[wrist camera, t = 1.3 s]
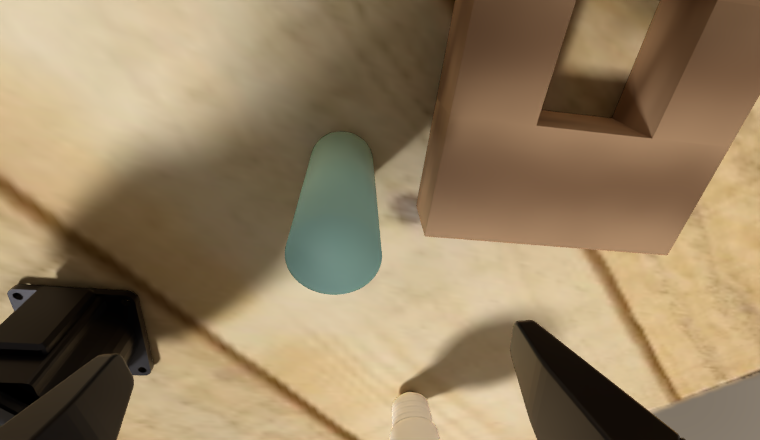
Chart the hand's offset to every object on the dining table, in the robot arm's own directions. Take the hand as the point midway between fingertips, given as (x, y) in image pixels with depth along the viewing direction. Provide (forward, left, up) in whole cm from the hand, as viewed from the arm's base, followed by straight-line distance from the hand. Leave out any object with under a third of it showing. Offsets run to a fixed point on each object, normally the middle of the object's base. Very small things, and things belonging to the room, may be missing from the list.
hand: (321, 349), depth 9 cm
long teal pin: (0, 0, -12) cm, 12 cm away
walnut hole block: (+6, -10, -12) cm, 17 cm away
